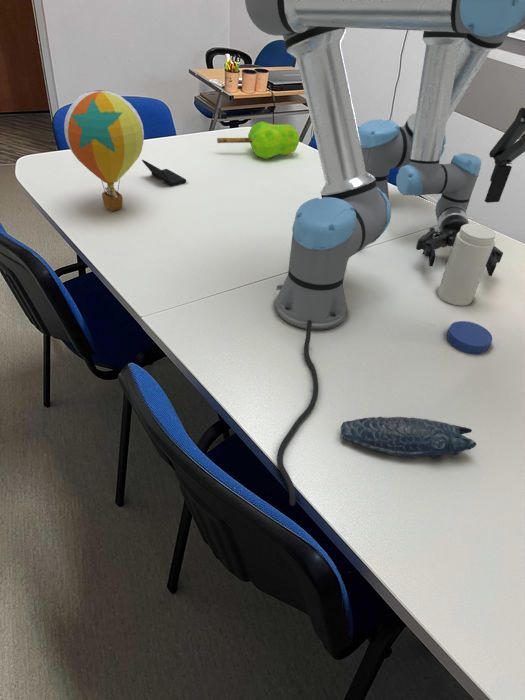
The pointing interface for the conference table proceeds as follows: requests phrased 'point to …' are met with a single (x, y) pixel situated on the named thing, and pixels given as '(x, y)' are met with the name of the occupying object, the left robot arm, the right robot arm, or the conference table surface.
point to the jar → (466, 264)
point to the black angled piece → (165, 175)
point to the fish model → (407, 436)
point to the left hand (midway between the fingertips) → (516, 217)
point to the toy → (105, 138)
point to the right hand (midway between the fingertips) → (462, 266)
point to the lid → (469, 337)
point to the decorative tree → (269, 139)
